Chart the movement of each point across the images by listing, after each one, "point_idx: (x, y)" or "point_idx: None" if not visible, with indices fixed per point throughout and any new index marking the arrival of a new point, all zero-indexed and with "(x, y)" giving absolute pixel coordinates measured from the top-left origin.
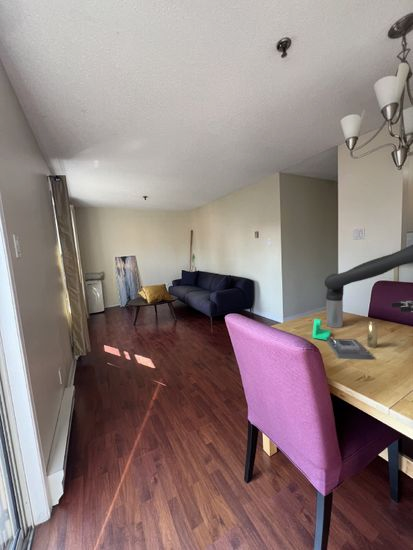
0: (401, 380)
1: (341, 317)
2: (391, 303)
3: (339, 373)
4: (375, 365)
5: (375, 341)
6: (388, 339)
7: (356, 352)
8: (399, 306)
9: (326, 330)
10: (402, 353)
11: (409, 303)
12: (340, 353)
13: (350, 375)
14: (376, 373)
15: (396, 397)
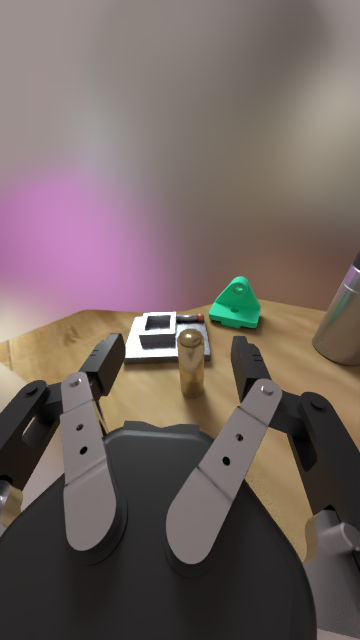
0: (41, 378)
1: (345, 336)
2: (237, 336)
3: (94, 316)
4: None
5: (180, 380)
6: (269, 468)
7: (137, 338)
8: (239, 393)
9: (251, 317)
10: None
11: (198, 429)
12: (137, 319)
13: (85, 325)
14: (76, 353)
15: (15, 353)
